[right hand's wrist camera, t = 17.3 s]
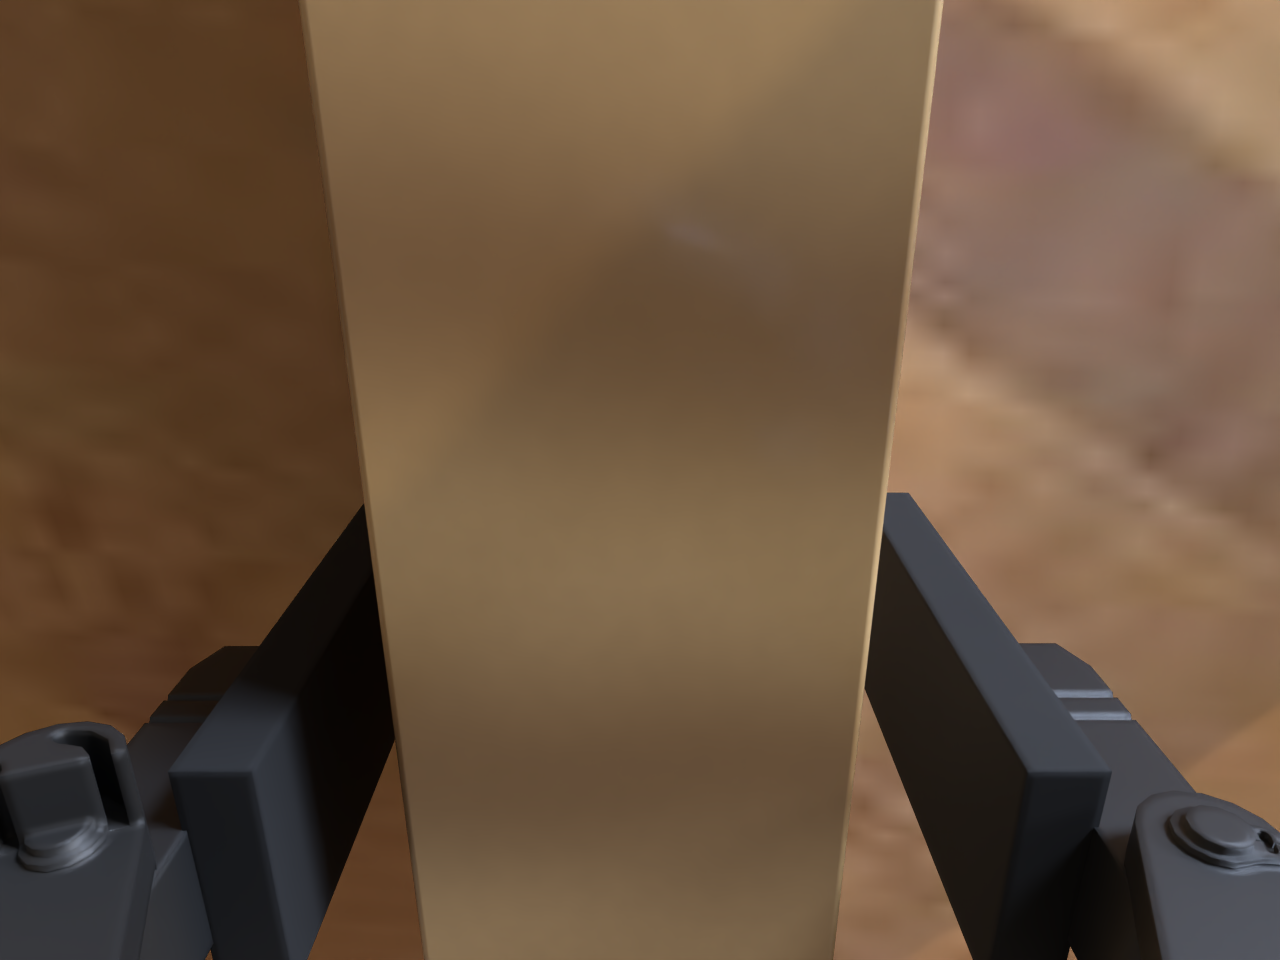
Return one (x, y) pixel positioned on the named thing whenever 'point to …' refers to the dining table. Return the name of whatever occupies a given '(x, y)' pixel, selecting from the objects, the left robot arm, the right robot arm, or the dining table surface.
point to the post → (624, 444)
